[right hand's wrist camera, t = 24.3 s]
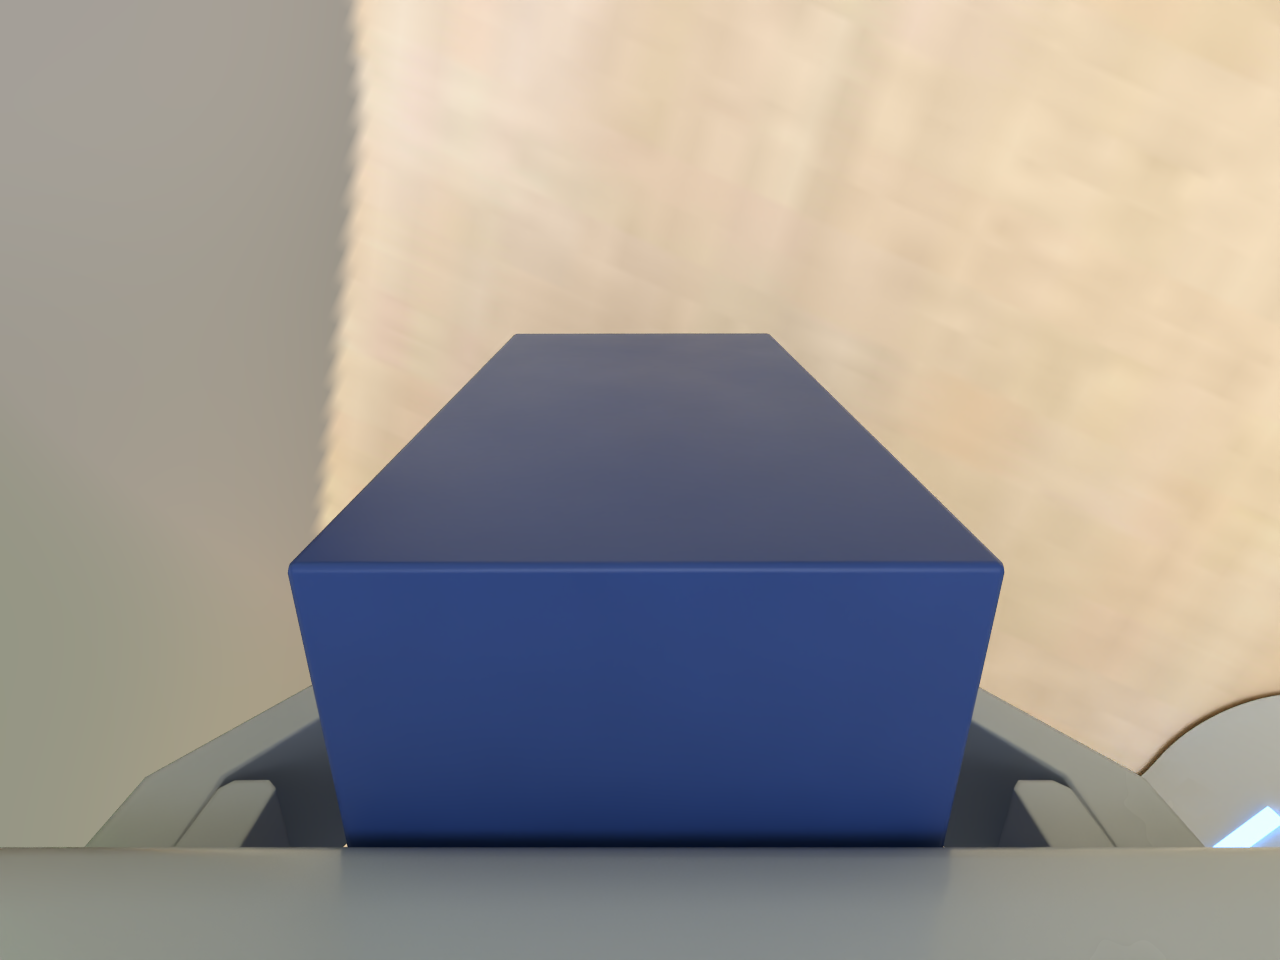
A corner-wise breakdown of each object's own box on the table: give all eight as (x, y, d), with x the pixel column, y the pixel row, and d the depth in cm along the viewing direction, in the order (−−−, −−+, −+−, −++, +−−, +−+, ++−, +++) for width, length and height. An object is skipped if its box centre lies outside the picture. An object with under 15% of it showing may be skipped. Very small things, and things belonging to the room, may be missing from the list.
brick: (770, 333, 13) (1010, 565, 5) (746, 667, 16) (869, 1190, 8) (514, 333, 13) (281, 565, 5) (537, 667, 16) (420, 1191, 8)
